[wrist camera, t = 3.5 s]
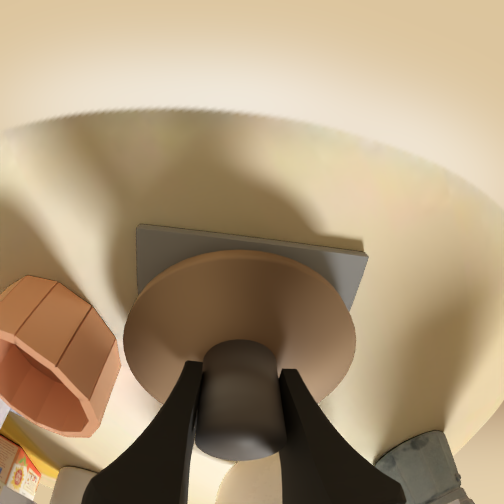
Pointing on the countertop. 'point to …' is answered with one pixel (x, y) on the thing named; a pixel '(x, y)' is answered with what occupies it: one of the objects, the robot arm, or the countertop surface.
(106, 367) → the planter
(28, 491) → the cracker box
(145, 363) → the lid
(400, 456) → the moka pot
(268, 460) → the lidded jar
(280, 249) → the mat
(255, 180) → the countertop surface
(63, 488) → the cylinder vase
